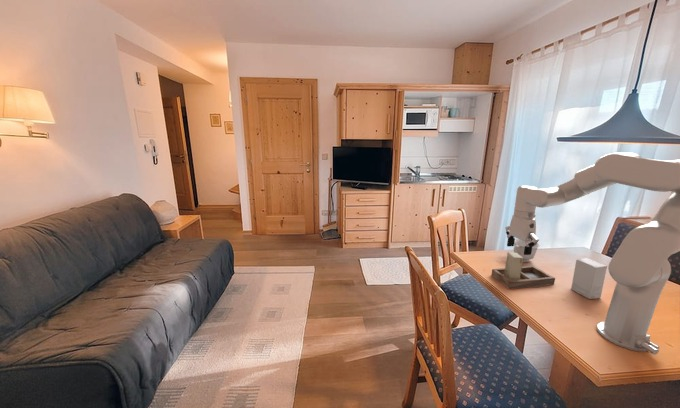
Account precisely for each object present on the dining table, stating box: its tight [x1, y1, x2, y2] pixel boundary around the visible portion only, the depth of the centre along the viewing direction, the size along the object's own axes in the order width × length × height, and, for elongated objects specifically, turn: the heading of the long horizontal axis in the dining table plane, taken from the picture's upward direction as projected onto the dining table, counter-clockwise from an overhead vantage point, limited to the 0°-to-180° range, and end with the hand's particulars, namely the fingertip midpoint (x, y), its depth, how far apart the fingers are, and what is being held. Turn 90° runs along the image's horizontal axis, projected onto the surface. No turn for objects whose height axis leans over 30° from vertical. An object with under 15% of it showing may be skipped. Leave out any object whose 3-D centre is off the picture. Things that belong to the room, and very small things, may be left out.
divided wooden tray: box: [491, 265, 556, 290], centre depth 126 cm, size 12×23×3 cm, turn 98°
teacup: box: [513, 238, 541, 263], centre depth 144 cm, size 12×15×10 cm
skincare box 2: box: [570, 257, 608, 300], centre depth 113 cm, size 8×6×15 cm
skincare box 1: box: [504, 251, 524, 281], centre depth 124 cm, size 6×4×12 cm
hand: (518, 250), depth 121 cm, fingers open, 9 cm apart
